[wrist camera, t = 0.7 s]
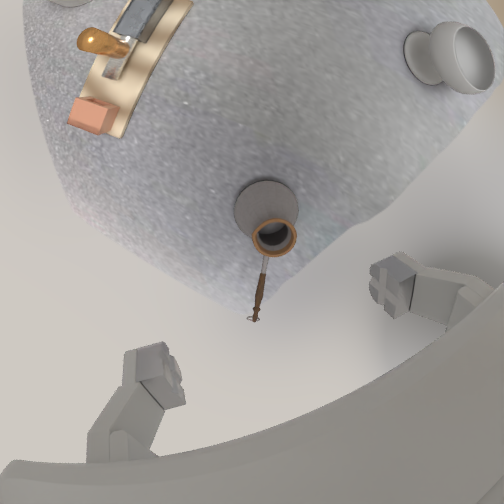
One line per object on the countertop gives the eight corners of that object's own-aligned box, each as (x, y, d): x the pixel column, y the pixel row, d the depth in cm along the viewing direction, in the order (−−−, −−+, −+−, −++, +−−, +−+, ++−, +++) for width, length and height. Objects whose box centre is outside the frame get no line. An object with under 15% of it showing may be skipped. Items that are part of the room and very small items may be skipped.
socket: (90, 96, 36) (75, 97, 31) (120, 107, 38) (108, 108, 33) (81, 119, 38) (66, 123, 33) (110, 130, 40) (98, 135, 35)
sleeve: (151, -9, 27) (143, -18, 23) (175, -2, 29) (169, -12, 25) (122, 36, 31) (112, 31, 27) (146, 43, 33) (137, 38, 29)
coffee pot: (240, 170, 48) (245, 200, 35) (302, 183, 50) (328, 216, 37) (220, 270, 58) (219, 321, 45) (273, 277, 60) (285, 327, 48)
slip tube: (148, -2, 27) (121, -32, 15) (165, 2, 28) (142, -29, 16) (105, 76, 34) (62, 73, 22) (120, 81, 35) (80, 78, 23)
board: (140, -11, 27) (137, -13, 26) (193, 4, 31) (192, 1, 29) (75, 118, 39) (71, 119, 37) (122, 137, 42) (119, 138, 41)
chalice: (440, 29, 32) (489, 26, 19) (453, 88, 39) (503, 97, 27) (390, 25, 33) (439, 14, 21) (408, 91, 41) (459, 97, 28)
